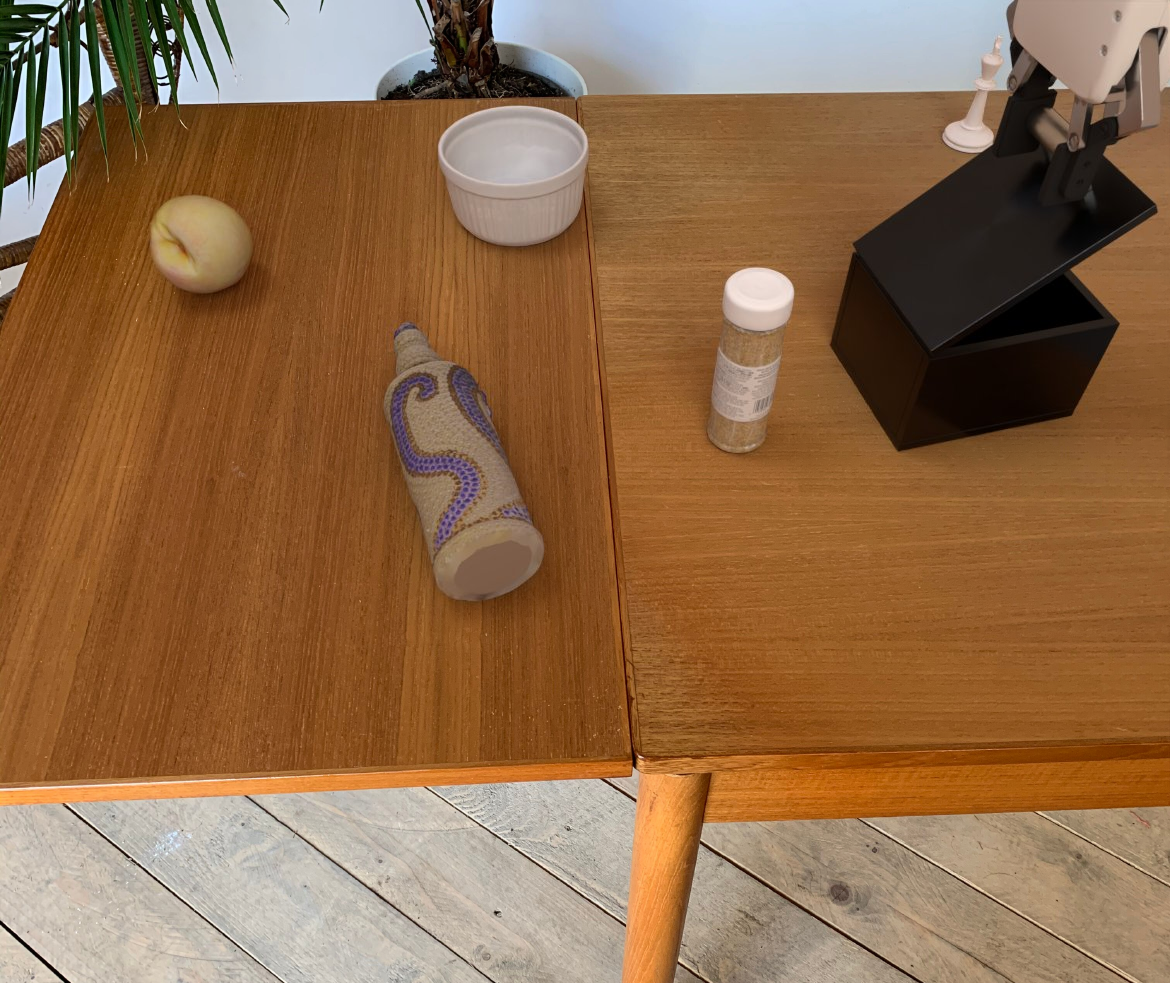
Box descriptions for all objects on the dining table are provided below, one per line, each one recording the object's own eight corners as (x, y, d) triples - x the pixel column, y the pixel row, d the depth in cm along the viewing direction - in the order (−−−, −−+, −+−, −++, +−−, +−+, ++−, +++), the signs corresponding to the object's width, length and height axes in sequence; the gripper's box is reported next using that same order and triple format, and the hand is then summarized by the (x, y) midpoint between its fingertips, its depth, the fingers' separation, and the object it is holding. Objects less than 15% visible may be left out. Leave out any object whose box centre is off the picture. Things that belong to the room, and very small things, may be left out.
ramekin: (423, 241, 91) (413, 170, 85) (476, 165, 99) (469, 94, 93) (563, 268, 89) (562, 196, 83) (606, 187, 96) (607, 116, 91)
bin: (990, 315, 85) (1027, 222, 78) (1072, 416, 77) (1120, 323, 70) (829, 345, 82) (852, 251, 75) (897, 452, 75) (930, 359, 68)
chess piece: (941, 149, 100) (972, 46, 92) (943, 124, 103) (973, 22, 95) (992, 156, 100) (1028, 52, 92) (992, 130, 102) (1027, 27, 94)
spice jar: (743, 406, 78) (768, 256, 67) (777, 442, 76) (810, 293, 65) (693, 426, 77) (711, 277, 66) (727, 464, 74) (751, 316, 64)
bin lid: (1051, 112, 70) (1036, 57, 67) (1158, 212, 63) (1148, 157, 59) (855, 250, 75) (831, 205, 72) (933, 358, 68) (911, 315, 64)
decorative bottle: (552, 587, 68) (549, 522, 62) (442, 616, 66) (429, 553, 61) (459, 346, 82) (450, 277, 77) (368, 366, 81) (352, 297, 76)
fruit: (152, 284, 87) (117, 200, 81) (238, 247, 90) (211, 164, 84) (192, 327, 84) (160, 243, 77) (281, 287, 87) (256, 203, 81)
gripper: (1334, -97, 47) (1164, 240, 62) (1125, -211, 57) (1021, 103, 72) (1193, -76, 46) (1054, 262, 61) (1005, -196, 56) (924, 120, 71)
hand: (1037, 173), depth 66 cm, fingers closed on bin lid, 5 cm apart
